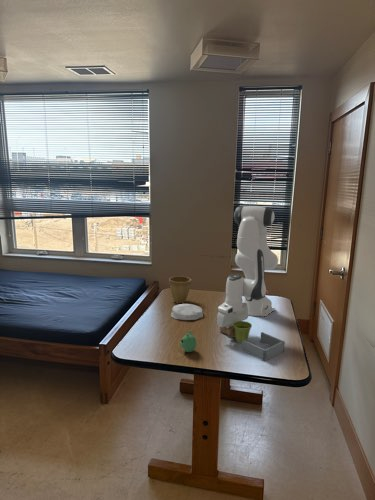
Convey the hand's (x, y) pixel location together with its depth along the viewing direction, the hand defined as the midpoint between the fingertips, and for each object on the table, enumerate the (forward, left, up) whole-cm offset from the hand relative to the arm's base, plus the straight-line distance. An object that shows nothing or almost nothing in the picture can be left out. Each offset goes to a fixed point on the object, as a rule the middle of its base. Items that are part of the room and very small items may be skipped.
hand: (232, 330), depth 179 cm
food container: (0, -38, -4) cm, 38 cm away
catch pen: (0, +20, -3) cm, 20 cm away
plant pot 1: (-11, -59, -3) cm, 60 cm away
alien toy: (+29, -2, -3) cm, 29 cm away
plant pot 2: (0, +6, -3) cm, 7 cm away
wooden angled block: (0, -1, -2) cm, 3 cm away
